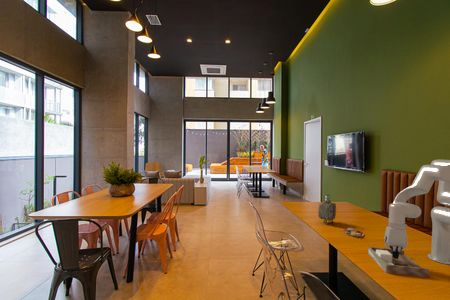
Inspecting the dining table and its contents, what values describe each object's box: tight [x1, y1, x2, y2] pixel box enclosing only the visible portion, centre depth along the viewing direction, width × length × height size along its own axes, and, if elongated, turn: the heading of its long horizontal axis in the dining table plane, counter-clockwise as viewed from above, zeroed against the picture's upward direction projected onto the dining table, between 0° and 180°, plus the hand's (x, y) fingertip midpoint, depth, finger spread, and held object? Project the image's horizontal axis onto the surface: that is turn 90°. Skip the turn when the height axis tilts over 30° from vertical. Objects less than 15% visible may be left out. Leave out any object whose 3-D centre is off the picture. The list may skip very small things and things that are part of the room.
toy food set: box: [343, 227, 365, 238], centre depth 186 cm, size 13×13×3 cm
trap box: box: [367, 246, 430, 278], centre depth 139 cm, size 20×24×4 cm
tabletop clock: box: [317, 194, 337, 226], centre depth 212 cm, size 14×9×25 cm, turn 131°
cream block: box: [376, 250, 392, 262], centre depth 141 cm, size 6×6×4 cm
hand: (395, 257), depth 139 cm, fingers closed
